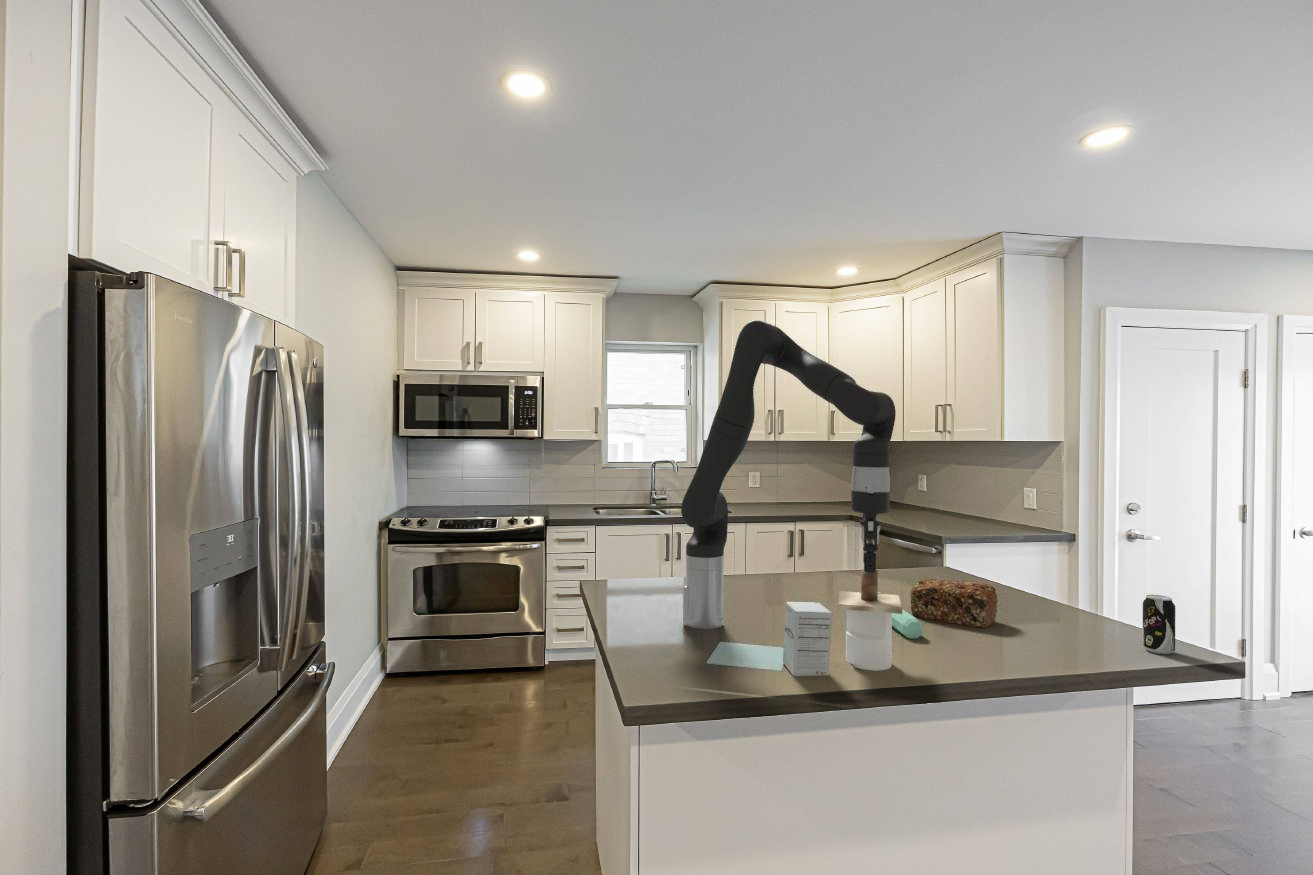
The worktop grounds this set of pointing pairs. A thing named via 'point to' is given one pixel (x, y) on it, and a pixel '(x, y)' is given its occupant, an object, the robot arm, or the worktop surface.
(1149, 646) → the beverage can
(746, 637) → the worktop surface
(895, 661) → the worktop surface
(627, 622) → the worktop surface
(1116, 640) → the worktop surface
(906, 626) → the container
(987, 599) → the bread
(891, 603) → the lid
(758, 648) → the mat
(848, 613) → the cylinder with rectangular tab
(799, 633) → the supplement box
